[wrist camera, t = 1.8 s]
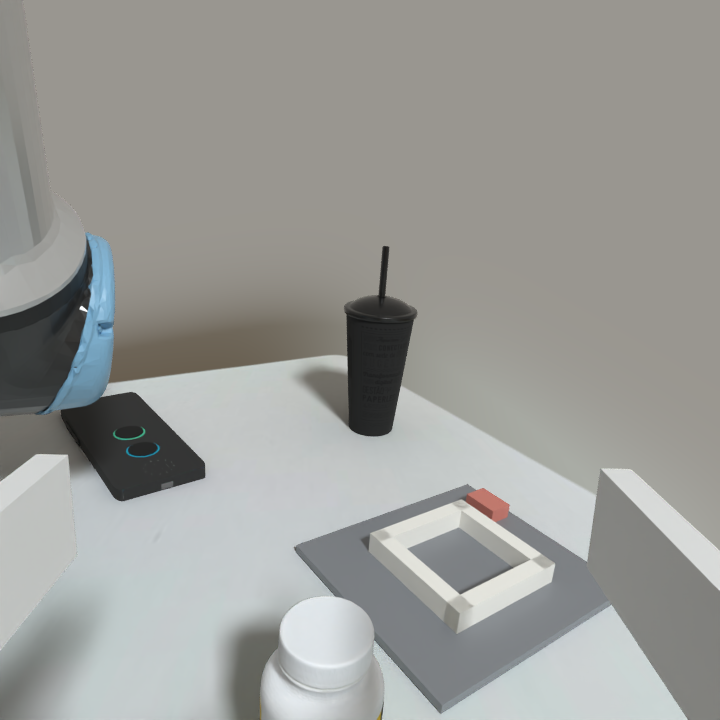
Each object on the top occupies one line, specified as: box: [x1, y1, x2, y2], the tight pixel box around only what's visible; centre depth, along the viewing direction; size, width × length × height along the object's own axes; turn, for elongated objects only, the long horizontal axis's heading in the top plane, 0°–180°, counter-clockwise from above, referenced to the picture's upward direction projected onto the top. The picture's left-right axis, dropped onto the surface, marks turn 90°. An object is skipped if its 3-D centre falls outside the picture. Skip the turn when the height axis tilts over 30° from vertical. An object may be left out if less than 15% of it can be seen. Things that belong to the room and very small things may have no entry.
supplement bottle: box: [259, 596, 384, 720], centre depth 26 cm, size 5×5×10 cm
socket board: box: [296, 484, 611, 713], centre depth 43 cm, size 16×18×2 cm
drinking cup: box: [344, 246, 417, 436], centre depth 63 cm, size 8×8×20 cm
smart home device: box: [61, 392, 205, 501], centre depth 58 cm, size 8×2×20 cm
